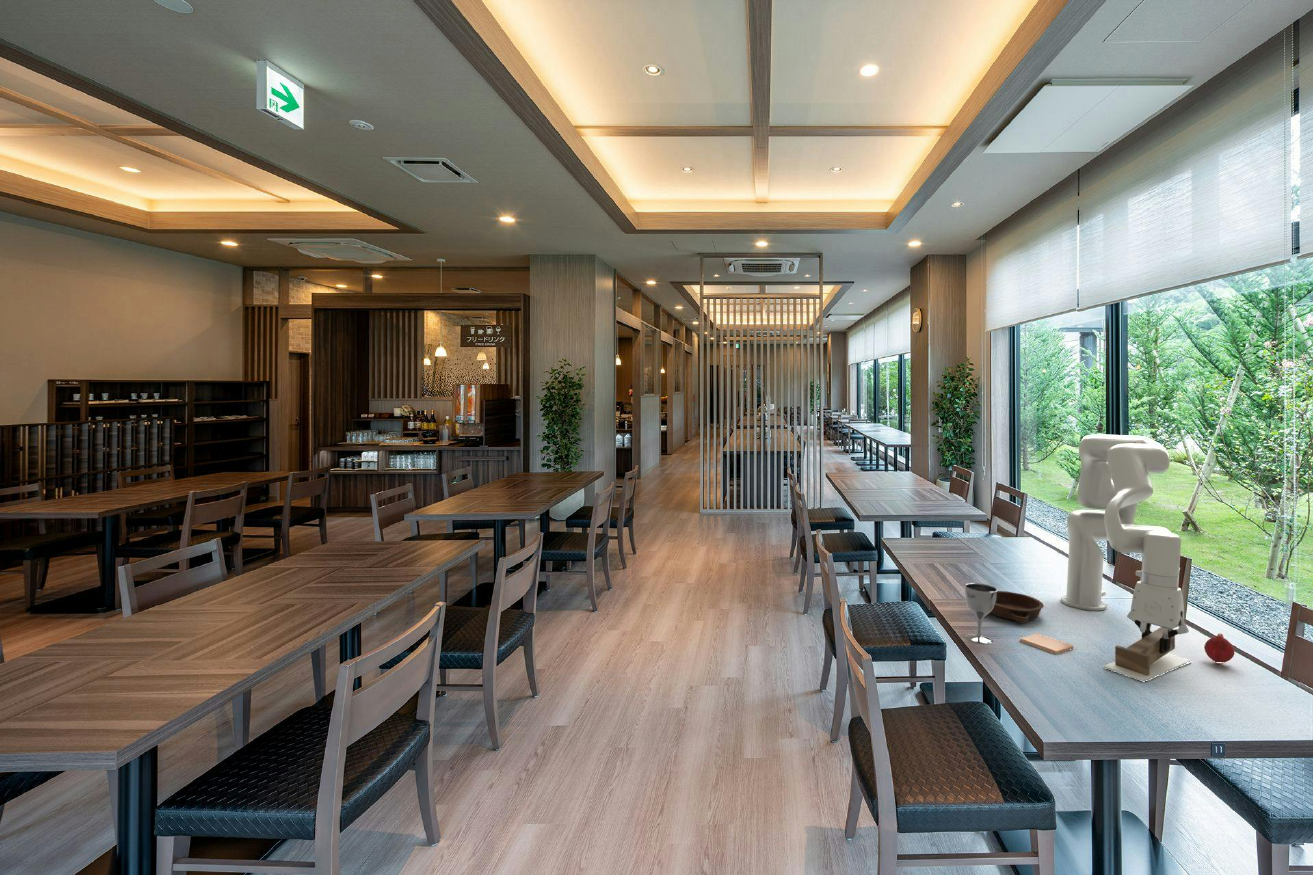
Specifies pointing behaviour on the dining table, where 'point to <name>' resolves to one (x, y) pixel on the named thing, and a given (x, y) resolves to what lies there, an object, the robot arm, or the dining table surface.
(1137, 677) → the board
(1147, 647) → the brown wooden brick
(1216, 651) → the onion
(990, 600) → the wine glass
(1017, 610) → the dish
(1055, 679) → the dining table surface
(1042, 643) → the wooden picture frame
